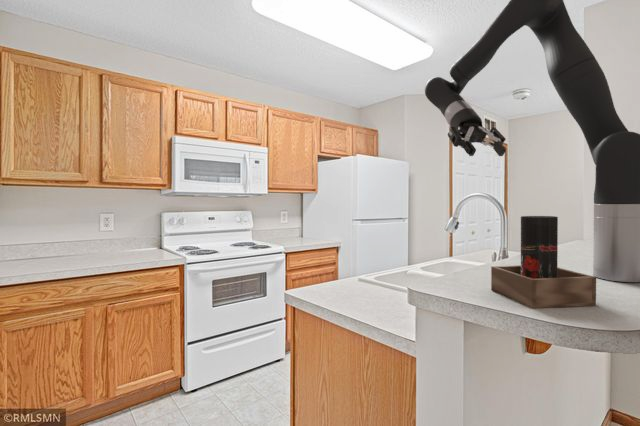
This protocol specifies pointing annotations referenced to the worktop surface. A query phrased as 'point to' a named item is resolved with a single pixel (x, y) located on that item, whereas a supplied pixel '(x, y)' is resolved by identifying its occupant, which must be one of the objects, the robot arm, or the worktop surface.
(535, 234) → the deodorant
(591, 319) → the worktop surface
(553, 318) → the worktop surface
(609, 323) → the worktop surface
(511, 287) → the holder box
